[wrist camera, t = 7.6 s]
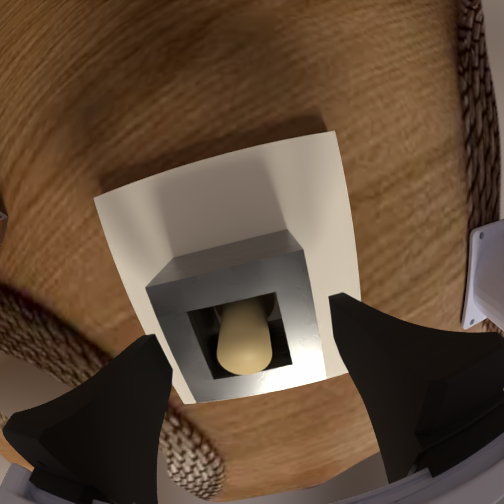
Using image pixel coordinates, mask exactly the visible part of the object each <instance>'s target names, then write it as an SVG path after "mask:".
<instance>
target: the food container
mask: <svg viewBox="0 0 504 504" xmlns="http://www.w3.org/2000/svg"><path fill="white" fill-rule="evenodd" d="M7 222H8V216H6V215H5V214H3V213H2V212H0V246H1V244H2V242H3V239H4V236H5V232H6V228H7Z"/></svg>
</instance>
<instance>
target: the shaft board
mask: <svg viewBox="0 0 504 504" xmlns="http://www.w3.org/2000/svg"><path fill="white" fill-rule="evenodd" d="M94 201H95V204H96V208H97V211H98V214H99V218H100V221H101V224H102V227H103V230H104V233H105V236H106V239H107V242H108V245H109V248H110V250H111V253H112V256H113V258H114V261H115V264H116V266H117V269H118V272H119V274H120V277H121V279H122V282H123V284H124V286H125V289H126V291H127V294H128V296H129V298H130V301H131V303H132V305H133V307H134V310H135V312H136V314H137V316H138V318H139V321H140V323H141V325H142V327H143V329H144V331H145V333H146V335H149V334H155V335H156V337H157V339H158V341H159V343H160V345H161V347H162V349H163V351H164V353H165V355H166V357H167V359H168V361H169V363H170V365H171V366H172V368H173V377H172V384H173V386H174V387H175V389H176V391H177V393H178V394H179V396H180V398H181V399H182V401H183V402H184V404H192V403H196V401H195V399H194V397H193V395H192V393H191V392H190V390H189V388H188V386H187V384H186V382H185V380H184V378H183V376H182V374H181V371H180V369H179V367H178V365H177V363H176V361H175V359H174V357H173V354H172V352H171V350H170V348H169V346H168V343H167V341H166V339H165V337H164V334H163V332H162V330H161V327H160V325H159V322H158V320H157V318H156V315H155V313H154V310H153V308H152V305H151V303H150V300H149V297H148V295H147V292H146V289H145V287H146V286H147V285H148V284H149V283H150V281H151V280H152V279H153V278H154V277H155V276H156V275H157V274H158V273H159V272H160V271H161V270H162V269H163V268H164V267H165V266H166V265H167V264H168V263H169V261H170V260H171V259H172V258H174V257H178V256H182V255H185V254H189V253H193V252H197V251H201V250H205V249H209V248H213V247H217V246H221V245H225V244H229V243H233V242H237V241H241V240H245V239H249V238H253V237H257V236H261V235H265V234H269V233H273V232H277V231H281V230H285V229H288V230H289V231H290V233H291V234H292V235H293V236H294V238H295V239H296V240H297V241H298V243H299V244H300V245H301V247H302V248H303V249H304V254H305V258H306V263H307V268H308V273H309V279H310V284H311V289H312V294H313V300H314V305H315V311H316V317H317V323H318V329H319V335H320V341H321V347H322V353H323V360H324V367H325V374H326V379H328V378H331V377H335V376H338V375H342V374H345V373H348V370H347V368H346V366H345V365H344V363H343V361H342V359H341V357H340V354H339V351H338V349H337V346H336V343H335V341H334V338H333V330H332V322H331V313H330V306H329V298H328V296H331V295H334V294H338V293H342V292H344V293H346V294H348V295H350V296H351V297H353V298H355V299H357V300H359V301H361V296H360V283H359V273H358V263H357V254H356V246H355V238H354V230H353V223H352V217H351V210H350V204H349V198H348V192H347V187H346V181H345V176H344V171H343V166H342V161H341V157H340V152H339V147H338V143H337V139H336V135H335V131H331V132H325V133H318V134H313V135H307V136H301V137H296V138H291V139H286V140H281V141H276V142H272V143H267V144H263V145H258V146H254V147H250V148H245V149H241V150H237V151H233V152H230V153H226V154H222V155H218V156H215V157H211V158H207V159H204V160H200V161H197V162H194V163H190V164H187V165H184V166H180V167H177V168H174V169H171V170H168V171H165V172H162V173H159V174H156V175H153V176H150V177H147V178H144V179H142V180H139V181H136V182H133V183H130V184H128V185H125V186H122V187H120V188H117V189H115V190H112V191H110V192H107V193H105V194H102V195H100V196H97V197H95V198H94ZM214 309H215V312H216V315H217V318H218V321H219V324H220V333H219V340H218V348H217V358H218V361H219V363H220V364H221V366H222V367H223V368H225V369H226V370H228V371H229V372H232V373H234V374H239V375H250V374H255V373H258V372H260V371H262V370H263V369H264V368H266V367H267V366H268V364H269V363H270V361H271V358H272V349H271V341H270V334H269V327H268V321H272V320H276V319H280V318H282V315H281V311H280V307H279V303H278V299H277V294H276V292H272V293H268V294H264V295H259V296H255V297H251V298H247V299H242V300H238V301H233V302H229V303H224V304H220V305H215V306H214ZM322 380H324V379H322ZM319 381H320V380H319ZM315 382H316V381H315ZM311 383H313V382H311ZM307 384H309V383H307ZM303 385H305V384H303ZM299 386H301V385H299ZM295 387H296V386H295ZM290 388H292V387H290ZM286 389H288V388H286ZM281 390H283V389H281ZM277 391H278V390H277ZM272 392H273V391H272ZM267 393H268V392H267ZM262 394H263V393H262ZM256 395H258V394H256ZM250 396H252V395H250ZM245 397H246V396H245ZM238 398H240V397H238ZM232 399H233V398H232ZM225 400H226V399H225ZM218 401H219V400H218ZM210 402H211V401H210ZM201 403H202V402H201Z"/></svg>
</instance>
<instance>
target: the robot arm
mask: <svg viewBox="0 0 504 504" xmlns="http://www.w3.org/2000/svg"><path fill="white" fill-rule="evenodd" d="M328 298H329V306H330V313H331V322H332V330H333V338H334V341H335V343H336V346H337V349H338V351H339V354H340V357H341V359H342V361H343V363H344V365H345V366H346V368H347V370H348V372H349V374H350V376H351V378H352V380H353V382H354V384H355V385H356V387H357V389H358V391H359V393H360V395H361V397H362V399H363V402H364V404H365V406H366V409H367V412H368V415H369V417H370V420H371V423H372V426H373V429H374V432H375V435H376V438H377V441H378V445H379V448H380V452H381V455H382V459H383V462H384V466H385V470H386V474H387V478H388V482H389V485H386V486H383V487H381V488H378V489H375V490H372V491H369V492H367V493H363V494H360V495H357V496H354V497H350V498H347V499H343V500H340V501H336V502H332V503H328V504H495V503H496V502H498V501H499V500H500V499H501V498H503V497H504V391H503V388H504V338H503V337H502V336H501V335H500V334H499V333H498V332H481V333H467V332H453V331H445V330H439V329H434V328H428V327H424V326H420V325H416V324H413V323H410V322H406V321H403V320H400V319H397V318H395V317H393V316H390V315H388V314H385V313H383V312H381V311H379V310H376V309H374V308H372V307H370V306H368V305H366V304H364V303H363V302H361V301H359V300H357V299H355V298H353V297H351V296H350V295H348V294H346V293H344V292H342V293H338V294H334V295H331V296H328ZM486 318H489V319H490V320H491V321H492V322H493V323H495V324H496V325H497V326H498V327H499V328H501V329H502V330H503V331H504V219H502V220H499V221H496V222H493V223H490V224H487V225H484V226H481V227H478V228H475V229H473V230H472V232H471V234H470V247H469V266H468V278H467V288H466V296H465V304H464V311H463V317H462V323H461V327H462V328H463V329H468V328H469V327H471V326H473V325H475V324H477V323H479V322H480V321H482V320H484V319H486ZM172 377H173V368H172V366H171V365H170V363H169V361H168V359H167V357H166V355H165V353H164V351H163V349H162V347H161V345H160V343H159V341H158V339H157V337H156V335H155V334H149V335H143V336H141V337H140V338H138V339H137V340H136V341H134V342H133V343H132V344H131V345H129V346H128V347H127V348H126V349H125V350H124V351H122V352H121V353H120V354H119V355H118V356H117V357H116V358H114V359H113V360H112V361H111V362H110V363H109V364H107V365H106V366H105V367H104V368H102V369H101V370H100V371H99V372H97V373H96V374H95V375H94V376H92V377H91V378H90V379H88V380H87V381H85V382H84V383H82V384H81V385H79V386H78V387H76V388H74V389H73V390H71V391H69V392H67V393H66V394H64V395H62V396H60V397H58V398H56V399H54V400H52V401H49V402H47V403H45V404H42V405H40V406H37V407H34V408H31V409H28V410H24V411H20V412H16V413H14V414H13V415H12V416H11V417H10V419H9V420H8V422H7V423H6V425H5V426H4V428H3V429H2V431H3V435H4V437H5V438H6V440H7V441H8V442H9V444H10V445H11V446H12V447H13V448H14V449H15V450H16V451H17V452H18V453H19V454H20V455H21V456H22V457H23V458H24V459H25V460H27V461H28V462H29V463H30V464H31V465H32V466H33V467H35V468H34V470H33V472H31V471H30V470H28V469H26V468H25V467H22V466H20V465H18V464H16V463H14V462H12V464H11V466H10V468H9V470H8V472H7V473H6V475H5V477H4V480H3V482H2V484H1V486H0V504H158V500H157V455H158V445H159V437H160V431H161V427H162V423H163V419H164V415H165V412H166V408H167V404H168V400H169V396H170V392H171V386H172Z"/></svg>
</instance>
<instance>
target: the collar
mask: <svg viewBox="0 0 504 504" xmlns="http://www.w3.org/2000/svg"><path fill="white" fill-rule="evenodd" d="M145 289H146V292H147V295H148V297H149V300H150V303H151V305H152V308H153V310H154V313H155V315H156V318H157V320H158V322H159V325H160V327H161V330H162V332H163V334H164V337H165V339H166V341H167V343H168V346H169V348H170V350H171V352H172V354H173V357H174V359H175V361H176V363H177V365H178V367H179V369H180V371H181V374H182V376H183V378H184V380H185V382H186V384H187V386H188V388H189V390H190V392H191V393H192V395H193V397H194V399H195V401H196V403H201V402H210V401H218V400H225V399H232V398H238V397H245V396H250V395H256V394H262V393H267V392H272V391H277V390H281V389H286V388H290V387H295V386H299V385H303V384H307V383H311V382H315V381H319V380H322V379H326V374H325V367H324V360H323V353H322V347H321V341H320V335H319V329H318V323H317V317H316V311H315V305H314V300H313V294H312V289H311V284H310V279H309V273H308V268H307V263H306V258H305V254H304V249H303V248H302V247H301V245H300V244H299V243H298V241H297V240H296V239H295V238H294V236H293V235H292V234H291V233H290V231H289V230H288V229H285V230H281V231H277V232H273V233H269V234H265V235H261V236H257V237H253V238H249V239H245V240H241V241H237V242H233V243H229V244H225V245H221V246H217V247H213V248H209V249H205V250H201V251H197V252H193V253H189V254H185V255H182V256H178V257H174V258H172V259H171V260H170V261H169V263H168V264H167V265H166V266H165V267H164V268H163V269H162V270H161V271H160V272H159V273H158V274H157V275H156V276H155V277H154V278H153V279H152V280H151V281H150V283H149V284H148V285H147V286H146V287H145ZM272 292H276V294H277V299H278V303H279V307H280V311H281V315H282V318H280V319H276V320H272V321H268V327H269V334H270V341H271V349H272V358H271V361H270V363H269V364H268V366H267V367H266V368H264V369H263V370H262V371H260V372H258V373H255V374H250V375H239V374H234V373H232V372H229V371H228V370H226V369H225V368H223V367H222V366H221V364H220V363H219V361H218V358H217V348H218V340H219V333H220V324H219V321H218V318H217V315H216V312H215V309H214V306H215V305H220V304H224V303H229V302H233V301H238V300H242V299H247V298H251V297H255V296H259V295H264V294H268V293H272Z"/></svg>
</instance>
